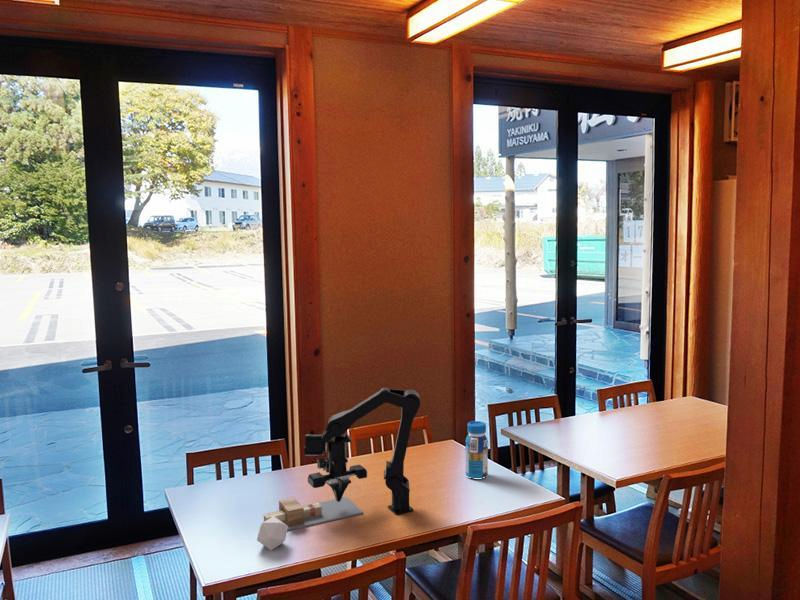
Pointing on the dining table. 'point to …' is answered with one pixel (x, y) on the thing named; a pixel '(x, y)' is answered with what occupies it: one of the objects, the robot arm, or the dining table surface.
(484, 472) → the beverage bottle
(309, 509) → the pale wooden bar
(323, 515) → the felt mat
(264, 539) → the die
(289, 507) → the tan block
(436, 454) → the dining table surface
